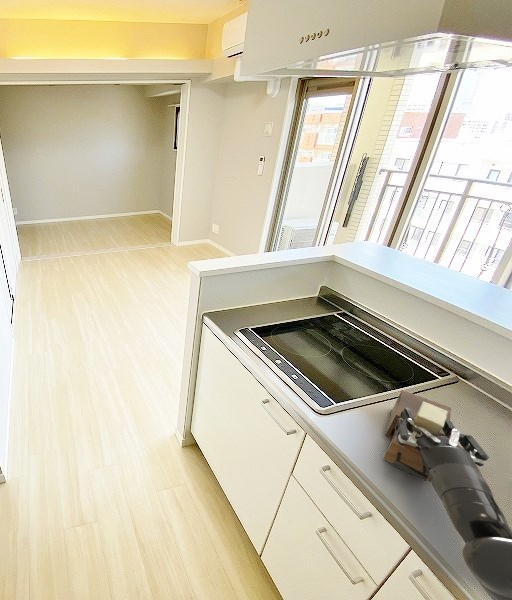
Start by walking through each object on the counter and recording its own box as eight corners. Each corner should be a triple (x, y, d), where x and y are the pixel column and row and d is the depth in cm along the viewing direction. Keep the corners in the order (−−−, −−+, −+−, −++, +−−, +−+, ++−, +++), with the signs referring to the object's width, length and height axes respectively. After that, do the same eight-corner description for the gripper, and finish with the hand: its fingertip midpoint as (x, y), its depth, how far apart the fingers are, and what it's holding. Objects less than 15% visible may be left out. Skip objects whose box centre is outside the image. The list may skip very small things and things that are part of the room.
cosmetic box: (403, 437, 80) (423, 399, 75) (426, 448, 77) (449, 410, 72) (396, 452, 77) (417, 414, 71) (421, 464, 74) (444, 426, 68)
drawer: (428, 495, 70) (440, 478, 67) (379, 470, 75) (389, 453, 72) (433, 450, 79) (444, 434, 76) (390, 431, 84) (398, 415, 81)
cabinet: (435, 458, 78) (449, 436, 74) (385, 435, 84) (395, 414, 80) (438, 428, 85) (451, 407, 82) (391, 410, 91) (402, 389, 88)
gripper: (520, 480, 57) (472, 412, 70) (416, 453, 62) (390, 394, 76) (498, 506, 60) (457, 436, 74) (401, 478, 66) (379, 417, 79)
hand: (423, 415), depth 75 cm, fingers closed on cosmetic box, 6 cm apart
